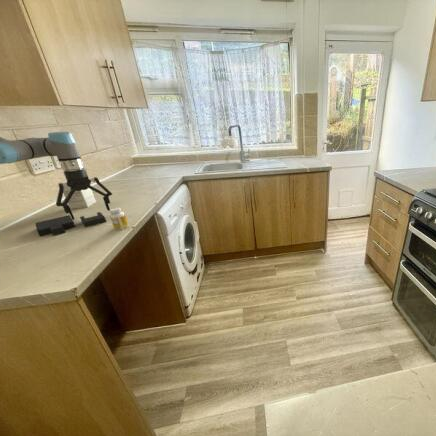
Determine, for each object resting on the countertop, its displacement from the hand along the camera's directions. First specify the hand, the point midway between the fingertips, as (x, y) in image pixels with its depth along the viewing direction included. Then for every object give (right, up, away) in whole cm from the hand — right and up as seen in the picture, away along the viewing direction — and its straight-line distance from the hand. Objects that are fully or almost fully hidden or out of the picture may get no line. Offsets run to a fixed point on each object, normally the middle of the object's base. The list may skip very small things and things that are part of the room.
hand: (91, 214), depth 114 cm
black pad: (0, -4, +2) cm, 4 cm away
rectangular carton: (-24, +5, +24) cm, 34 cm away
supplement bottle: (+18, -7, -6) cm, 21 cm away
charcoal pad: (-12, -7, -4) cm, 14 cm away
